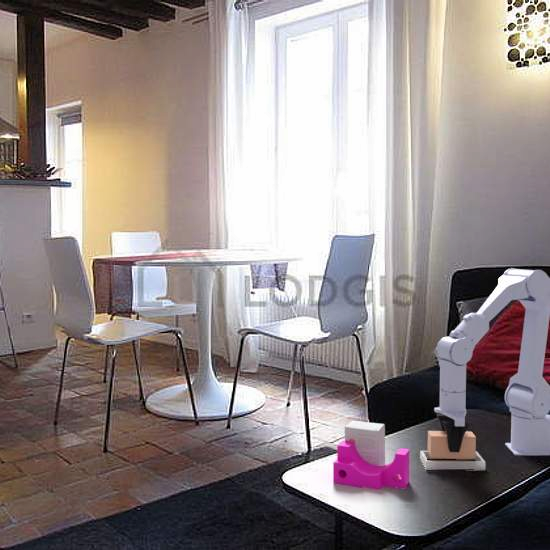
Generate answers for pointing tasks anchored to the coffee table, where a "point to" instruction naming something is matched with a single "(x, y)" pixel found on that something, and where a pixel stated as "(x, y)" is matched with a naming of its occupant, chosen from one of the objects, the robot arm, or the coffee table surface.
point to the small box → (368, 440)
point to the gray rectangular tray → (452, 463)
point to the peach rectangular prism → (441, 450)
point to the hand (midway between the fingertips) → (451, 448)
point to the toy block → (369, 469)
